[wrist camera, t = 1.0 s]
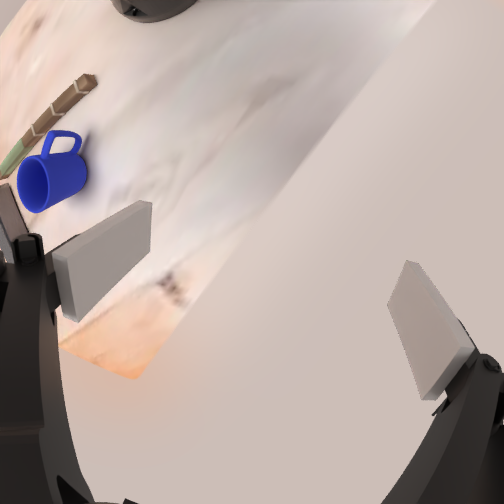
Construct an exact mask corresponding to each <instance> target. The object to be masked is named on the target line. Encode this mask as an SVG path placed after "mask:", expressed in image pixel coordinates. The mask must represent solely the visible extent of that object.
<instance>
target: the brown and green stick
mask: <svg viewBox="0 0 504 504" xmlns="http://www.w3.org/2000/svg"><path fill="white" fill-rule="evenodd" d="M96 85H97V83H96V80H95V77H94V75H89V74H83V75H82V76H81V77H80V78H78V79H77V80H74V81H73V84H72V85H71V86H70V87H69V88H68V89H67V90H66V91H64V92H63V93H62V94H61V95H60V96H59V97H58V98H57V99H56V100H55V101H54V102H53V103H51V104H50V107H49V108H48V109H47V110H46V111H45V112H44V113H43V114H42V115H41V116H40V117H39V118H38V120H37V121H36V122H35V123H34V124H32V125H31V128H30V129H29V130H28V131H27V132H26V133H25V135H24V136H23V137H22V138H21V139H20V140H19V141H18V142H17V144H16V145H15V146H14V147H13V149H12V150H11V151H10V153H9V154H8V155H7V157H6V158H5V159H4V161H3V162H2V164H1V165H0V180H2V179H5V178H8V176H9V175H10V174H11V173H12V172H13V170H14V169H15V168H16V167H17V165H18V164H19V163H20V162H21V161H22V159H23V158H24V157H25V156H26V155H27V153H28V152H29V151H30V150H31V149H32V148H33V147H34V145H35V144H36V143H37V142H38V140H39V139H40V138H41V137H42V136H43V135H45V134H46V132H47V131H48V130H49V129H50V128H51V127H52V126H53V125H54V124H55V123H56V122H57V121H58V120H59V119H60V118H61V117H62V116H63V115H65V114H66V112H67V111H68V110H69V109H70V108H71V107H72V106H73V105H75V104H76V103H77V102H78V101H79V100H80V99H81V98H82V97H83V96H85V95H86V94H88V93H89V92H90V90H92V89H93V88H94V87H95V86H96Z"/></svg>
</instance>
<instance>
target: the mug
mask: <svg viewBox="0 0 504 504" xmlns="http://www.w3.org/2000/svg"><path fill="white" fill-rule="evenodd" d="M55 137H74V138H75V144H74V146H73V148H72V150H71V151H69V152H64V153H53V154H49V152H50V149H51V146H52V143H53V141H54V139H55ZM81 144H82V139H81V137H80V136H79V135H78V134H76V133H74V132H71V131H63V130H52V131H49V132H48V134H47V136H46V139H45V142H44V145H43V148H42V152H41V155H33V156H29V157H27V158H25V159H24V160H23V162H22V163H21V165H20V167H19V170H18V174H17V189H18V193H19V197H20V199H21V201H22V203H23V205H24V206H25V207H26V208H27V209H28V210H29V211H30V212H33V213H40V212H42V211H44V210H45V209H47V208H49V207H51V206H53V205H55V204H56V203H58V202H60V201H62V200H64V199H66V198H68V197H70V196H72V195H74V194H76V193H77V192H78V191H80V190H81V189H82V187H83V186H84V184H85V181H86V176H87V170H86V165H85V163H84V161H83V159H82V158H81V157H80V156H79V155H77V154H76V153H77V152H78V151H79V149H80V147H81Z"/></svg>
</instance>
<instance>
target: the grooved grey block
mask: <svg viewBox="0 0 504 504" xmlns="http://www.w3.org/2000/svg"><path fill="white" fill-rule="evenodd" d="M26 233H28V232H27V229H26V227H25V225H24V223H23V220H22V218H21V216H20V213H19V211H18V208H17V206H16V203H15V201H14V198H13V196H12V193H11V190H10V188H9V185H8V183H6V184H3V185H0V248H1V250H2V252H3V254H4V257H5V259H6V261H7V263H14V260H13V254H12V249H11V243H10V242H11V241H12V240H13V239H14V238H15V237H17V236H19V235H22V234H26Z"/></svg>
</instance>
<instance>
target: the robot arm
mask: <svg viewBox="0 0 504 504" xmlns="http://www.w3.org/2000/svg"><path fill="white" fill-rule="evenodd" d="M196 1H197V0H111V2H112V3H113V5H114V7H115V8H116V10H117V11H118V12H119V13H120V14H122V15H123V16H125V17H127V18H129V19H131V20H133V21H136V22H143V23H149V22H157V21H161V20H164V19H167V18H170V17H172V16H174V15H177V14H178V13H180V12H182V11H184V10H185V9H187V8H188V7H190V6H191V5H192V4H193V3H194V2H196ZM151 215H152V203H151V202H146V201H141V200H139V201H137V202H135V203H133V204H132V205H130V206H128V207H126V208H124V209H123V210H121V211H119V212H117V213H115V214H114V215H112V216H110V217H108V218H107V219H105V220H103V221H102V222H100V223H98V224H97V225H95V226H93V227H92V228H90V229H88V230H87V231H85V232H83V233H81V234H78V235H75V236H73V237H72V238H70V239H68V240H67V241H65V242H64V243H62V244H61V245H59V246H57V247H56V248H54V249H53V250H51V251H50V252H48V253H47V254H45V255H44V249H43V241H42V236H41V235H39V234H36V233H26V234H22V235H19V236H17V237H15V238H14V239H13V240H12V241H11V242H10V243H11V249H12V254H13V260H14V263H6V262H5V258H4V254H3V252H2V251H1V250H0V504H117V503H107V502H95V501H94V499H93V496H92V494H91V491H90V489H89V487H88V485H87V483H86V481H85V479H84V478H83V475H82V473H81V471H80V468H79V464H78V460H77V457H76V453H75V449H74V445H73V441H72V437H71V432H70V428H69V423H68V419H67V412H66V407H65V401H64V395H63V388H62V380H61V372H60V362H59V352H58V335H57V316H56V312H55V309H56V308H57V307H58V306H59V305H61V308H62V312H63V316H64V317H65V318H68V319H70V320H72V321H74V322H77V323H79V322H80V321H81V320H82V319H83V317H84V316H85V315H86V314H87V313H88V312H89V311H90V310H91V309H92V308H93V307H94V306H95V305H96V304H97V303H98V302H99V301H100V300H101V299H102V298H103V297H104V296H105V295H106V294H107V293H108V292H109V291H110V290H111V289H112V288H113V287H114V286H115V285H116V284H117V283H118V282H119V281H120V280H121V279H122V278H123V277H124V276H125V275H126V274H127V273H128V272H129V271H130V270H131V269H132V268H133V267H134V266H135V265H136V264H137V263H138V262H139V261H140V260H142V259H143V258H144V257H145V256H146V255H147V254H148V253H149V252H150V237H151ZM387 306H388V309H389V311H390V313H391V316H392V318H393V321H394V323H395V326H396V329H397V331H398V334H399V336H400V338H401V341H402V344H403V347H404V350H405V352H406V355H407V358H408V361H409V364H410V367H411V369H412V372H413V375H414V378H415V381H416V384H417V388H418V391H419V394H420V397H421V400H436V399H438V397H439V396H440V395H441V394H442V392H443V391H444V390H445V391H446V394H447V398H446V399H445V400H444V401H443V403H442V404H441V405H440V406H439V407H438V408H437V409H436V411H435V412H434V413H433V414H432V416H434V415H435V414H437V415H436V417H435V419H434V421H433V423H432V425H431V426H430V428H429V430H428V432H427V434H426V436H425V437H424V439H423V441H422V443H421V445H420V446H419V448H418V450H417V451H416V453H415V455H414V456H413V458H412V460H411V461H410V463H409V465H408V466H407V468H406V469H405V471H404V472H403V474H402V475H401V477H400V478H399V480H398V481H397V483H396V484H395V485H394V487H393V488H392V490H391V491H390V493H389V494H388V495H387V496H386V498H385V499H384V500H383V502H382V503H381V504H504V425H503V420H504V373H502V370H501V367H500V365H499V363H498V362H497V361H496V360H495V359H494V358H493V357H491V356H490V355H488V354H480V352H479V351H478V349H477V347H476V345H475V344H474V342H473V340H472V339H471V337H469V334H468V332H467V331H465V330H466V329H465V327H464V326H463V324H462V323H461V322H460V320H458V319H457V318H456V316H455V314H454V313H453V311H452V310H451V309H450V307H449V306H448V304H447V303H446V301H445V300H444V298H443V297H442V295H441V294H440V292H439V291H438V289H437V288H436V287H435V285H434V284H433V283H432V281H431V280H430V278H429V277H428V276H427V275H426V273H425V271H424V270H423V269H422V267H421V266H420V265H419V263H415V262H411V261H408V260H406V262H405V265H404V267H403V270H402V272H401V275H400V277H399V279H398V282H397V284H396V286H395V289H394V291H393V293H392V296H391V298H390V300H389V302H388V304H387ZM123 504H138V503H135V502H133V501H130V500H128V499H125V500H124V502H123Z"/></svg>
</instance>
